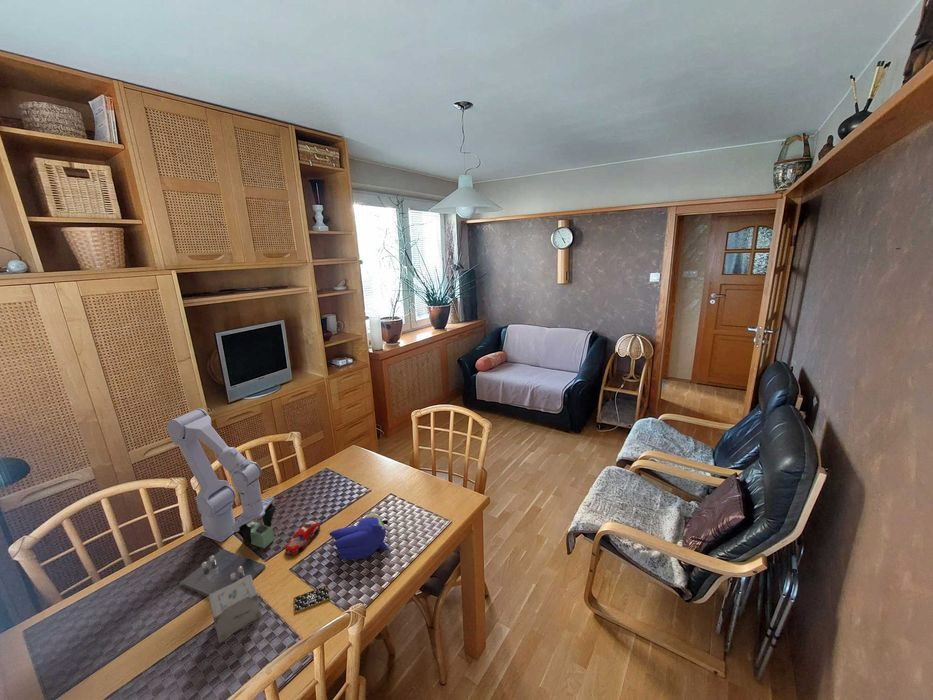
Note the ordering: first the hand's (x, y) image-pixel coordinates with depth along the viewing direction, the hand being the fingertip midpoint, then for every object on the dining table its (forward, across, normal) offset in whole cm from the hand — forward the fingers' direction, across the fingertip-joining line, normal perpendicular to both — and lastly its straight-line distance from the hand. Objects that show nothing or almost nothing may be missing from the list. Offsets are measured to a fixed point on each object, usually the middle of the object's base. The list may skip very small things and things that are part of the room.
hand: (258, 534), depth 122 cm
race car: (+3, +5, -14) cm, 15 cm away
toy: (+3, +9, -35) cm, 36 cm away
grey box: (+3, -23, -19) cm, 30 cm away
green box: (+3, 0, 0) cm, 3 cm away
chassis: (+2, -14, -2) cm, 14 cm away
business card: (+3, -11, -32) cm, 34 cm away
